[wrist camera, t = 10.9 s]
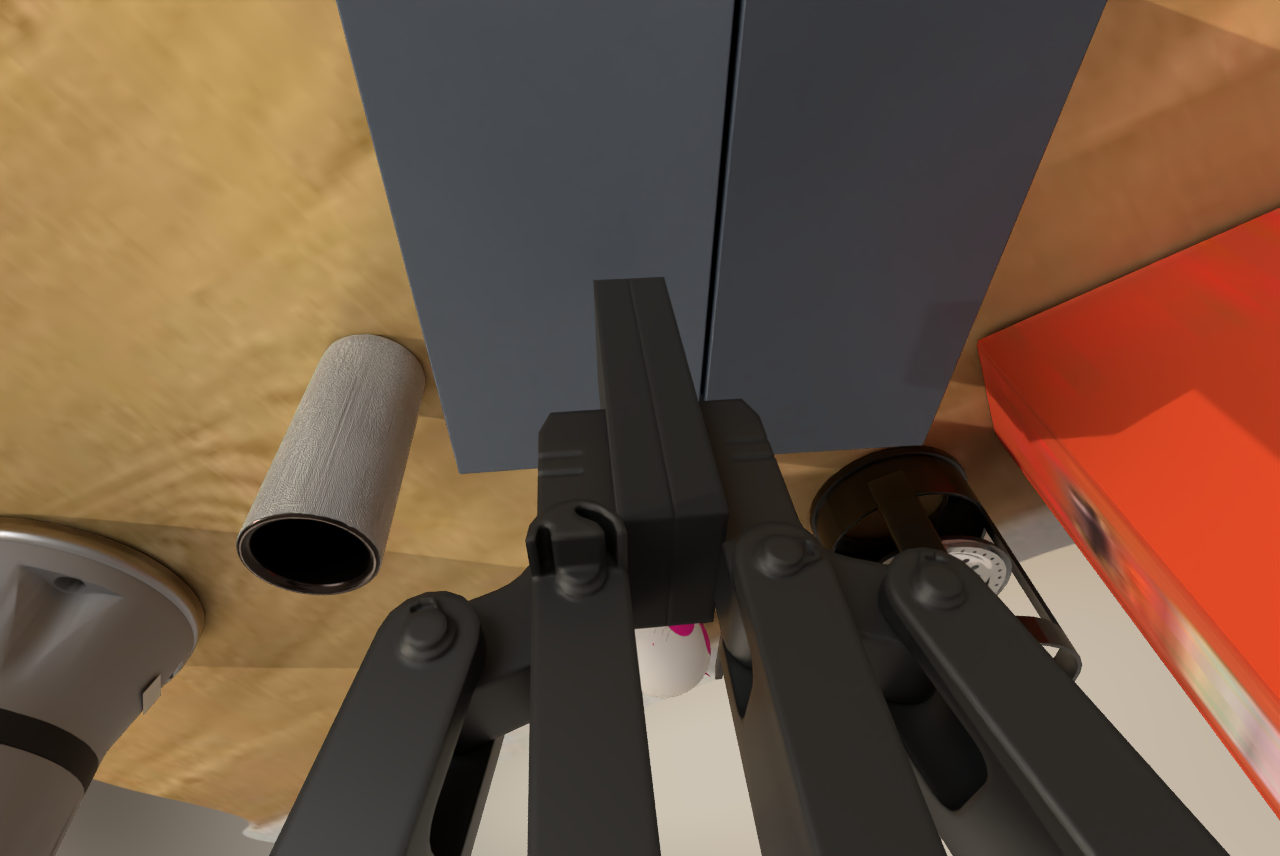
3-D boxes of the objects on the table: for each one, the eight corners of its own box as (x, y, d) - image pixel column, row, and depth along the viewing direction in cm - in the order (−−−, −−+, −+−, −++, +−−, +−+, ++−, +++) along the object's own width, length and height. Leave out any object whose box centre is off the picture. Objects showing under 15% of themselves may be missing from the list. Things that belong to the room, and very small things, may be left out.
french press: (973, 523, 41) (1263, 994, 24) (832, 571, 44) (1008, 1035, 27) (949, 401, 34) (1343, 955, 17) (781, 466, 36) (980, 1017, 19)
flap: (460, 465, 20) (458, 474, 20) (329, -45, 11) (324, -42, 11) (692, 448, 21) (694, 457, 20) (734, -47, 12) (739, -44, 12)
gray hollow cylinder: (298, 350, 28) (202, 536, 21) (392, 319, 28) (329, 499, 20) (358, 422, 31) (293, 608, 24) (444, 396, 31) (406, 578, 23)
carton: (484, 301, 27) (456, 476, 20) (415, -89, 19) (318, -46, 11) (827, 286, 29) (925, 446, 21) (912, -88, 20) (1132, -48, 12)
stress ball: (699, 580, 48) (761, 627, 43) (637, 670, 48) (692, 729, 42) (640, 537, 44) (701, 584, 39) (569, 636, 43) (622, 697, 38)
